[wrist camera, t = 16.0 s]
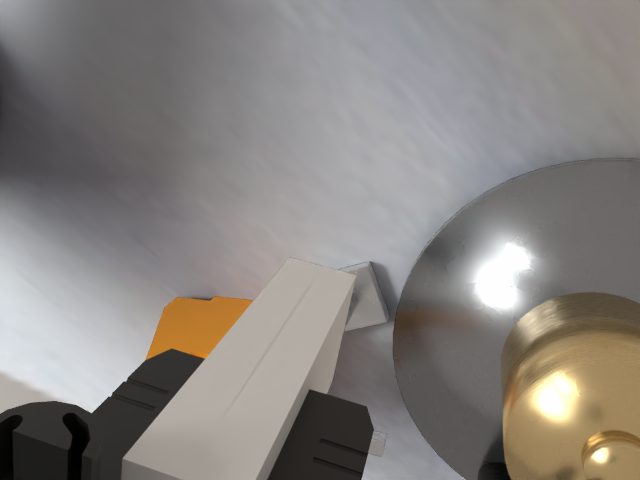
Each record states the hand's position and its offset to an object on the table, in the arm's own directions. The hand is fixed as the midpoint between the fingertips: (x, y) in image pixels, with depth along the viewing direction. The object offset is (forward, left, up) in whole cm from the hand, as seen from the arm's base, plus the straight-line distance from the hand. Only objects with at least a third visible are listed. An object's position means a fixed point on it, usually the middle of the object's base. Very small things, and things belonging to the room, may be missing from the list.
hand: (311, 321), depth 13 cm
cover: (+6, -16, -22) cm, 28 cm away
